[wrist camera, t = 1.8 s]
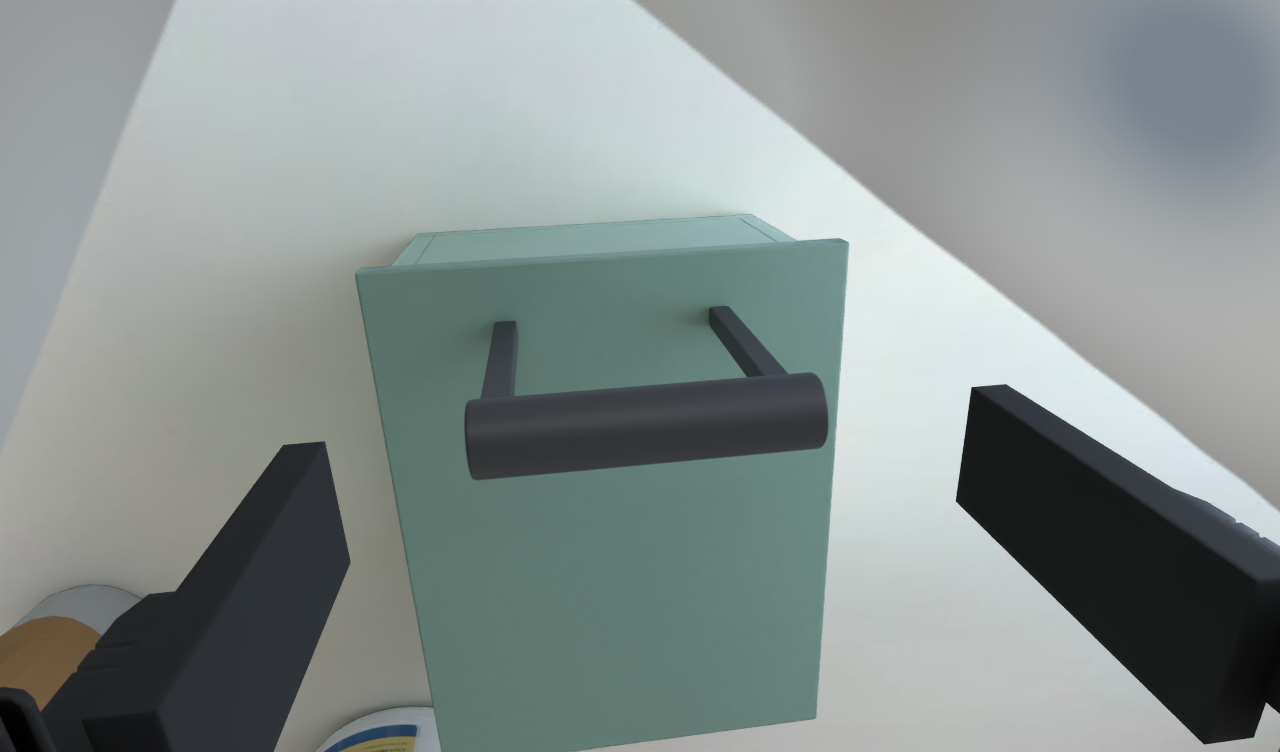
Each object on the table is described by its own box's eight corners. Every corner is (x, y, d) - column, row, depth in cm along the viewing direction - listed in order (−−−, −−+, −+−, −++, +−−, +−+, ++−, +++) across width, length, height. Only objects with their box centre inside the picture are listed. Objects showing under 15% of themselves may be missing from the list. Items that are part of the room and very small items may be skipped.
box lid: (359, 267, 23) (248, 377, 14) (841, 237, 25) (1009, 319, 16) (445, 753, 31) (408, 1022, 22) (810, 705, 32) (913, 937, 24)
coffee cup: (34, 696, 40) (-236, 1020, 26) (-6, 566, 37) (-334, 854, 23) (199, 687, 41) (26, 993, 27) (174, 561, 38) (-35, 833, 24)
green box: (416, 233, 34) (364, 294, 24) (753, 214, 35) (839, 263, 25) (468, 588, 41) (446, 752, 31) (745, 559, 43) (810, 704, 32)
